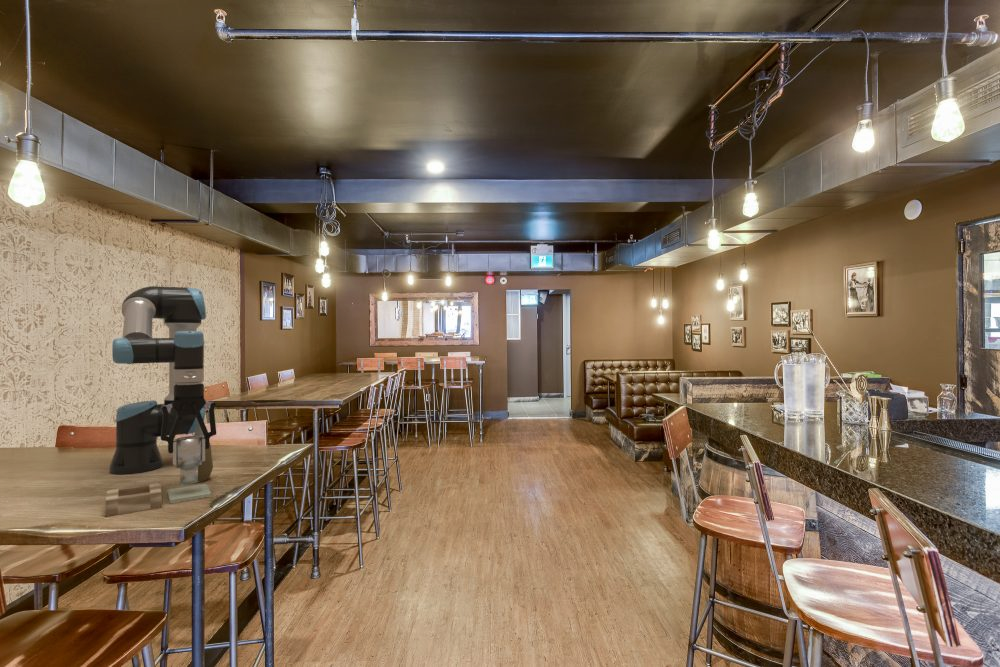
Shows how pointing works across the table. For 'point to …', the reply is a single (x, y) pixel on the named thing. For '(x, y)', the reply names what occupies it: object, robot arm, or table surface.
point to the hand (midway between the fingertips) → (189, 461)
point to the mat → (188, 493)
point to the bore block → (133, 499)
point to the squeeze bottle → (207, 465)
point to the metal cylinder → (188, 458)
